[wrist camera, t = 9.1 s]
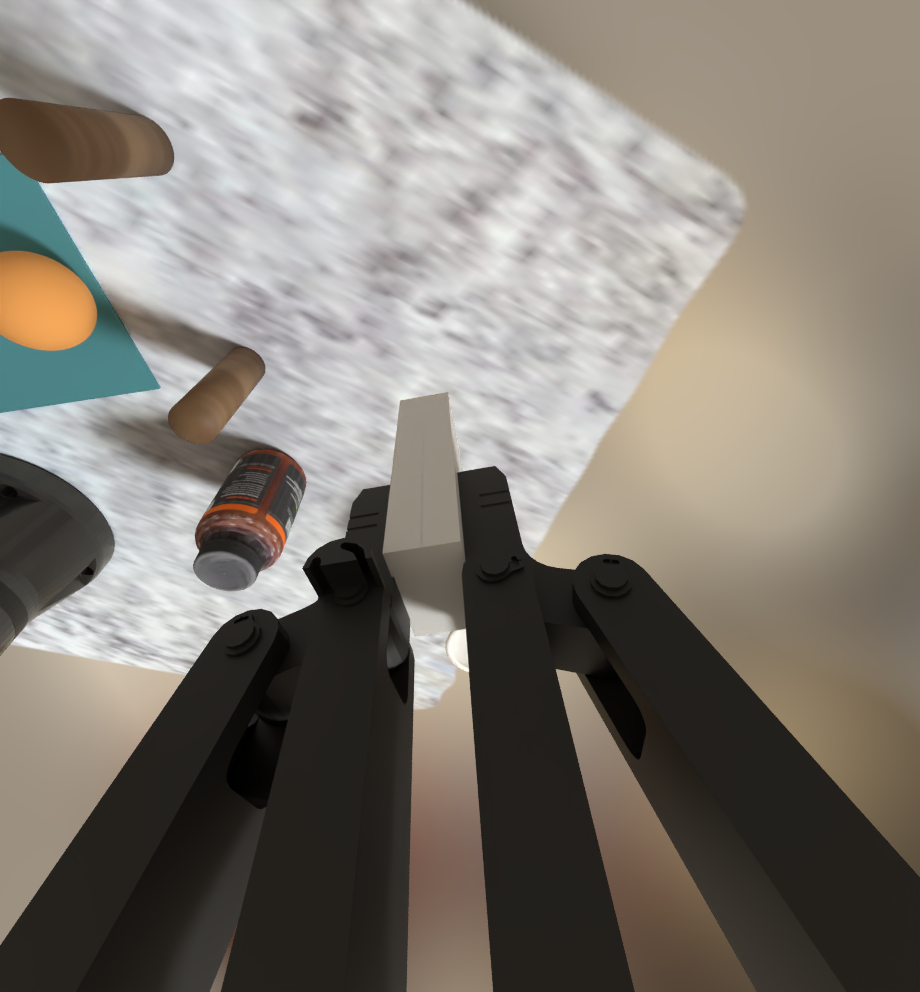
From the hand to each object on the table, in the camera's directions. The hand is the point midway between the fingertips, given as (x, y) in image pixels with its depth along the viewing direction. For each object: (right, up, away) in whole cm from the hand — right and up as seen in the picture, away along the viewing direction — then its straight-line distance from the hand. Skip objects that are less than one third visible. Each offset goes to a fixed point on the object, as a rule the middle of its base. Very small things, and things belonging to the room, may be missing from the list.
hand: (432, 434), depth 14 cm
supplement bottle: (-15, 0, +24) cm, 29 cm away
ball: (-25, +10, +12) cm, 29 cm away
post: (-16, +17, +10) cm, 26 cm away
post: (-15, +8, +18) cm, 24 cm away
